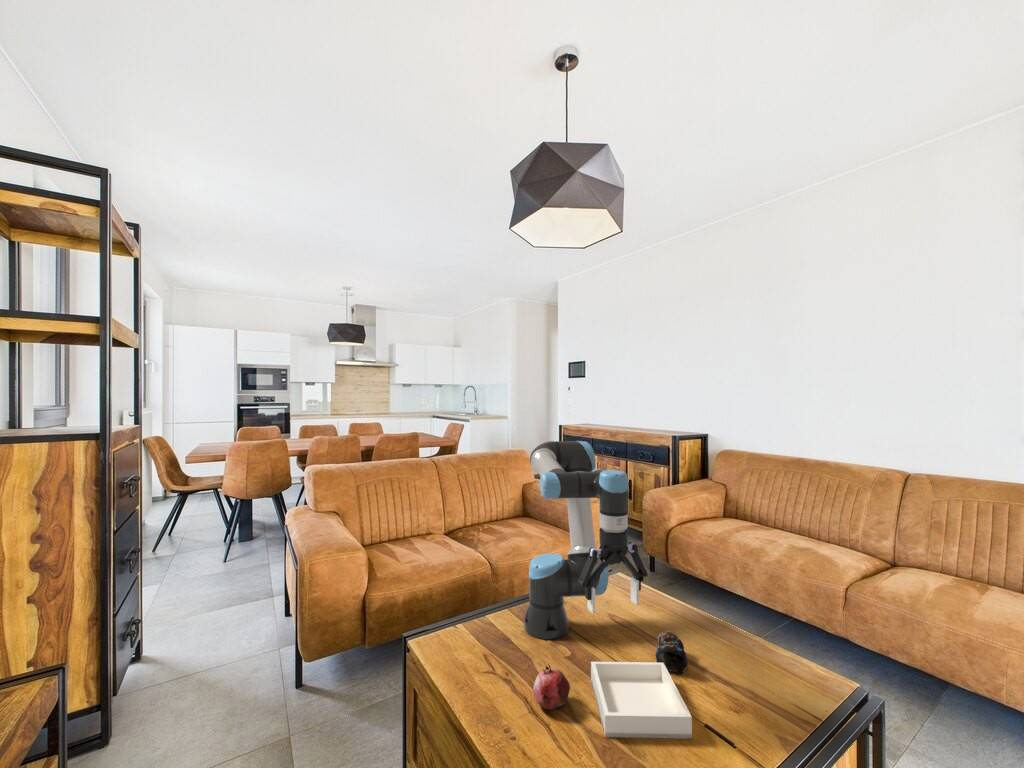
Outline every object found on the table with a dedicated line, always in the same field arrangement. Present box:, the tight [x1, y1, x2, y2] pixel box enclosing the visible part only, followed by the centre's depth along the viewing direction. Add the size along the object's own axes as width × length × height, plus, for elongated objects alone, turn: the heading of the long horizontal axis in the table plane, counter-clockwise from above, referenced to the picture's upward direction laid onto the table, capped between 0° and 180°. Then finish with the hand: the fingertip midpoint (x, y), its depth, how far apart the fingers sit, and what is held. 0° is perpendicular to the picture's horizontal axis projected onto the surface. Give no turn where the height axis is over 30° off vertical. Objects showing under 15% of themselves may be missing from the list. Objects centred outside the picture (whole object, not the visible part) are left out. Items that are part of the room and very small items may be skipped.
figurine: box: [655, 631, 688, 674], centre depth 129 cm, size 9×8×15 cm
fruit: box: [532, 663, 571, 711], centre depth 112 cm, size 9×10×10 cm
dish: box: [590, 661, 693, 740], centre depth 111 cm, size 20×20×5 cm
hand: (613, 606), depth 118 cm, fingers open, 13 cm apart
